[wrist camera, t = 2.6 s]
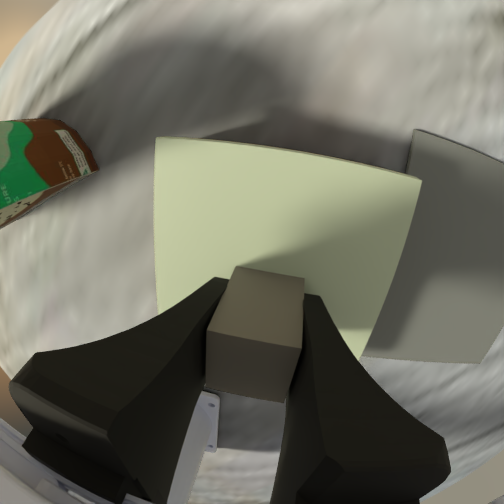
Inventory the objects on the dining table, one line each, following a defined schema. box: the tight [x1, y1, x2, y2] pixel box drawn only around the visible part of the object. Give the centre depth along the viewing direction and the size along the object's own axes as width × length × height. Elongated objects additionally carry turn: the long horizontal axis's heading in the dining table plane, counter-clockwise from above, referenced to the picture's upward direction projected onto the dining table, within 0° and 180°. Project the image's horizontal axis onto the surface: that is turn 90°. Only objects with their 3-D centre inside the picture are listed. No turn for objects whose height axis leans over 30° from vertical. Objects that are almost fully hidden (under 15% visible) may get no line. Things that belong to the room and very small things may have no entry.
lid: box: [154, 136, 422, 403], centre depth 10 cm, size 11×9×4 cm
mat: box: [361, 130, 504, 364], centre depth 13 cm, size 12×10×1 cm
